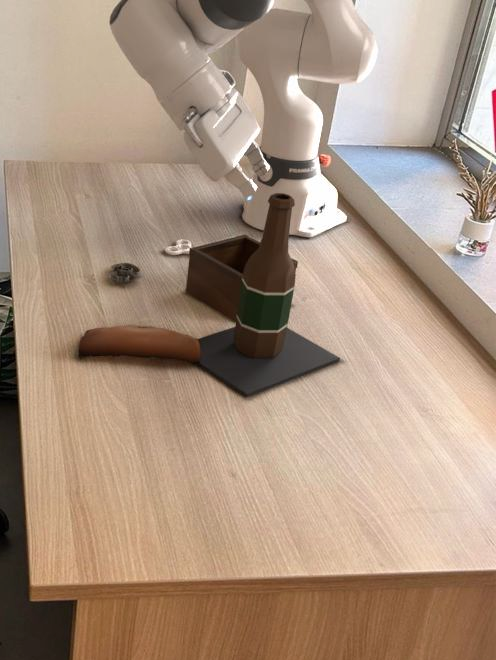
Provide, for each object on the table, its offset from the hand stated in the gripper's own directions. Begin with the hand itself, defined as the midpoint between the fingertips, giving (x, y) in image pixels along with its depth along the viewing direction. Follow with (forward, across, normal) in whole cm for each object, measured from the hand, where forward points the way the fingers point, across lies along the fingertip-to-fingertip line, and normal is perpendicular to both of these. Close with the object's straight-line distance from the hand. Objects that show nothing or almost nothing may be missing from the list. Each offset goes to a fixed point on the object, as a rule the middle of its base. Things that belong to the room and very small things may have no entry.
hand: (258, 183), depth 132 cm
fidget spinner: (+7, +32, +30) cm, 44 cm away
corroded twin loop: (+2, +16, +35) cm, 38 cm away
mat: (+21, -1, +16) cm, 26 cm away
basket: (+16, +17, +20) cm, 31 cm away
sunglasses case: (+9, -8, +27) cm, 30 cm away
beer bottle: (+20, 0, +16) cm, 26 cm away
